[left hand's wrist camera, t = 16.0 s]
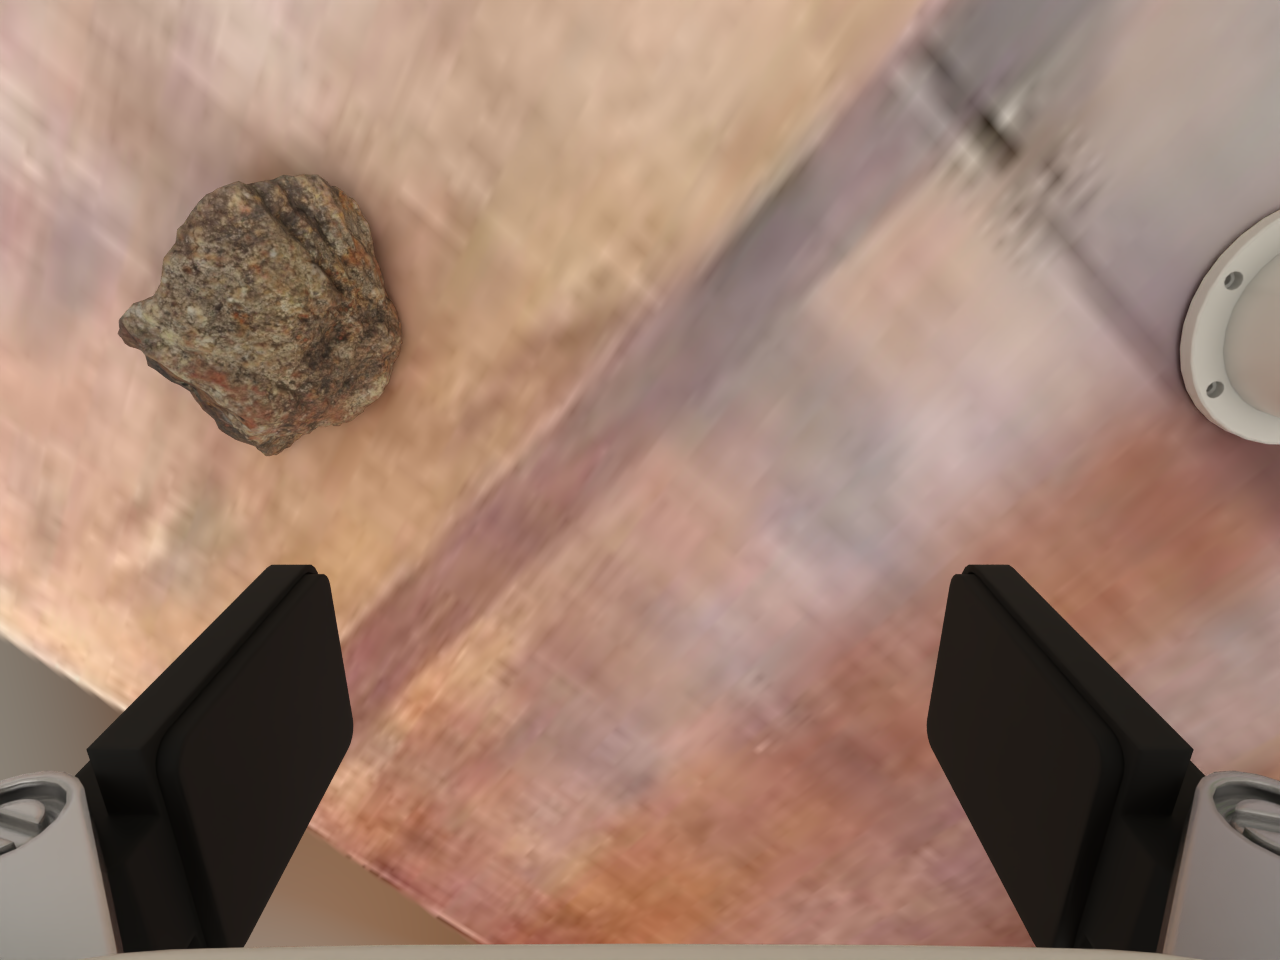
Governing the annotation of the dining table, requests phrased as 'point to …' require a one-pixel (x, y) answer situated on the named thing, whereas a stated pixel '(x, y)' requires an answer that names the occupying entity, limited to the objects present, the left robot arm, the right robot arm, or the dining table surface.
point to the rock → (271, 311)
